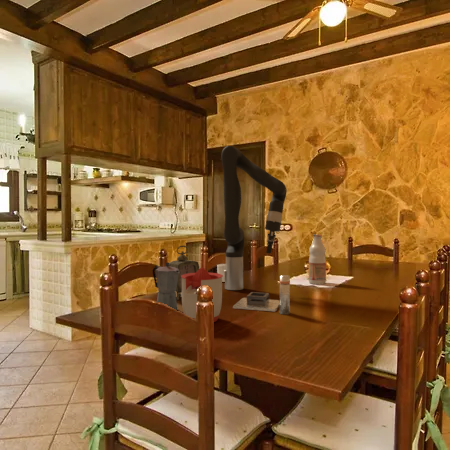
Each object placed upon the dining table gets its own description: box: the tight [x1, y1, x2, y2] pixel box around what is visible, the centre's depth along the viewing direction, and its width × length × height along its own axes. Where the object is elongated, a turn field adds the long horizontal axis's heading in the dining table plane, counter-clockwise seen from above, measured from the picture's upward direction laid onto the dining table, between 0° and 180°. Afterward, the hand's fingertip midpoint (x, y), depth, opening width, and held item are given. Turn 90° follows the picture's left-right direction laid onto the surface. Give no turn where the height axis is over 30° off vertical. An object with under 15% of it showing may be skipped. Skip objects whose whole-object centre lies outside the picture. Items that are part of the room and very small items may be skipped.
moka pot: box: [151, 262, 179, 311], centre depth 151 cm, size 10×15×20 cm, turn 58°
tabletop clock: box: [168, 245, 200, 301], centre depth 173 cm, size 14×9×25 cm, turn 137°
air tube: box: [279, 274, 291, 316], centre depth 145 cm, size 4×4×15 cm
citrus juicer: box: [181, 267, 223, 323], centre depth 135 cm, size 16×17×20 cm
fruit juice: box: [308, 233, 327, 285], centre depth 208 cm, size 9×9×28 cm
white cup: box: [216, 263, 226, 282], centre depth 214 cm, size 8×8×10 cm
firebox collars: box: [232, 291, 280, 313], centre depth 158 cm, size 18×16×5 cm
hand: (268, 253), depth 180 cm, fingers open, 8 cm apart
